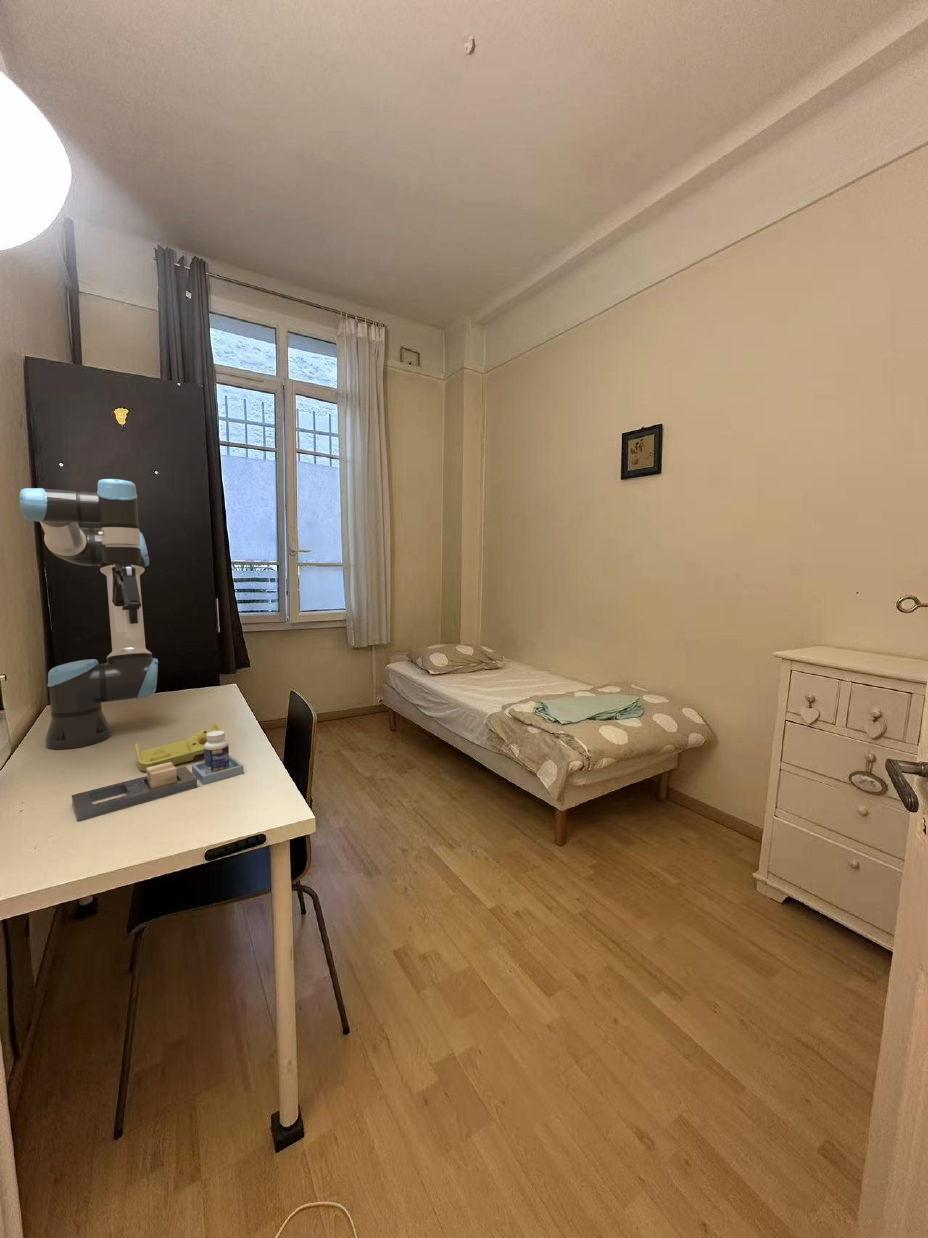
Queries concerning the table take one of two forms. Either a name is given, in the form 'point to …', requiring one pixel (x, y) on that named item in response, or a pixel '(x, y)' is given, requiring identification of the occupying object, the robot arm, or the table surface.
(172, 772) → the beech block
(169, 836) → the table surface
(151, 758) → the plastic component
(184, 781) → the rail
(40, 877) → the table surface
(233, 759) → the tray
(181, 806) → the table surface
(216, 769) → the pill bottle
